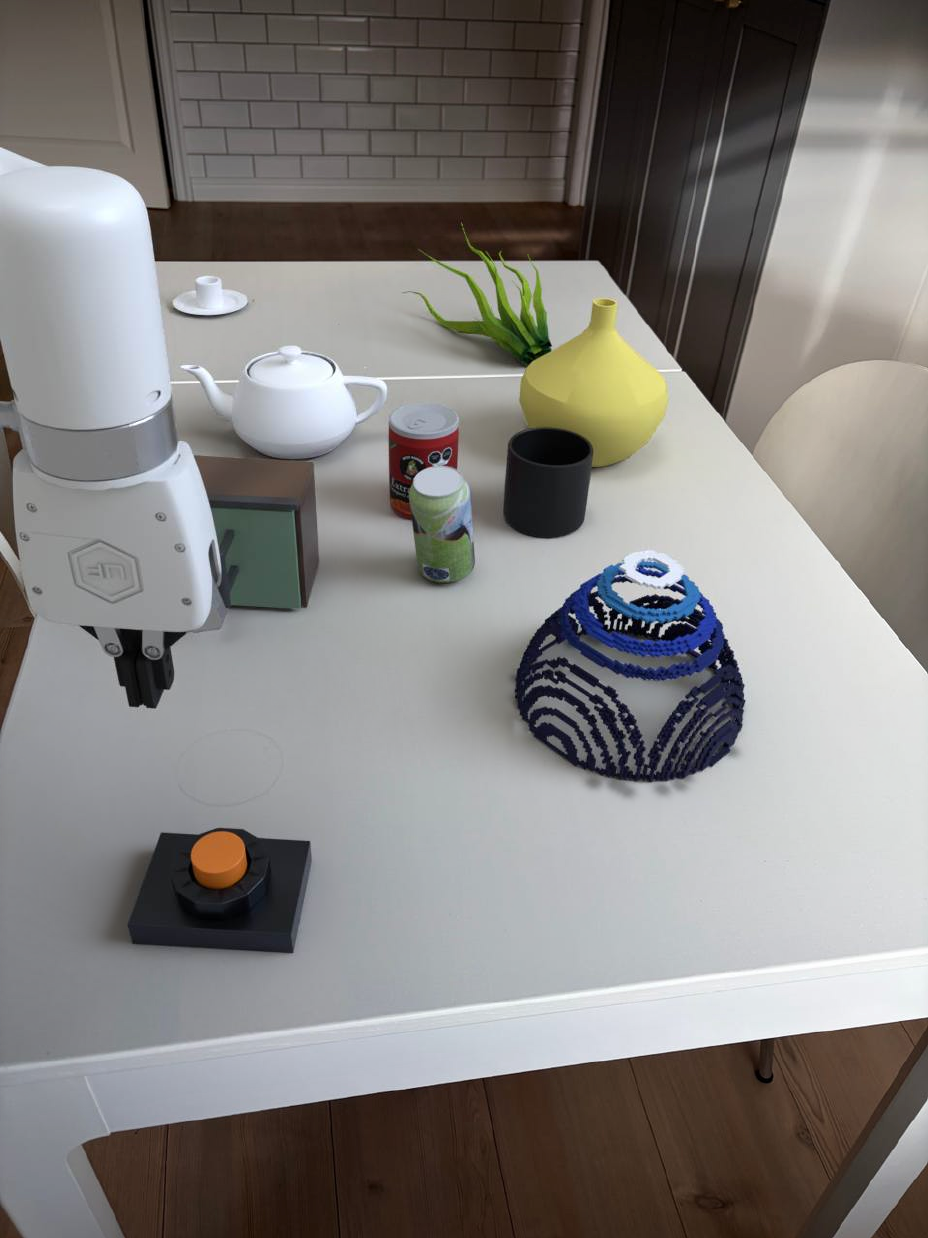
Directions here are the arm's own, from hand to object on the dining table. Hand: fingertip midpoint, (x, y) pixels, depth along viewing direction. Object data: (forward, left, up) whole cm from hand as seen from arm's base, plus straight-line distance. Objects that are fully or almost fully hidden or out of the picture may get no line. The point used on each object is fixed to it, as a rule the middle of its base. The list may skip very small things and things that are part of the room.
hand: (149, 692), depth 63 cm
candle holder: (-25, +112, -17) cm, 116 cm away
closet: (-4, +36, -17) cm, 40 cm away
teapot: (-4, +67, -17) cm, 69 cm away
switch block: (+4, -3, -17) cm, 18 cm away
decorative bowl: (+35, +21, -17) cm, 44 cm away
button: (+4, -3, -13) cm, 14 cm away
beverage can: (+17, +39, -17) cm, 46 cm away
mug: (+28, +53, -17) cm, 62 cm away
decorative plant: (+18, +105, -17) cm, 108 cm away
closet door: (-1, +29, -16) cm, 33 cm away
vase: (+34, +69, -17) cm, 79 cm away
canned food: (+14, +53, -17) cm, 57 cm away
